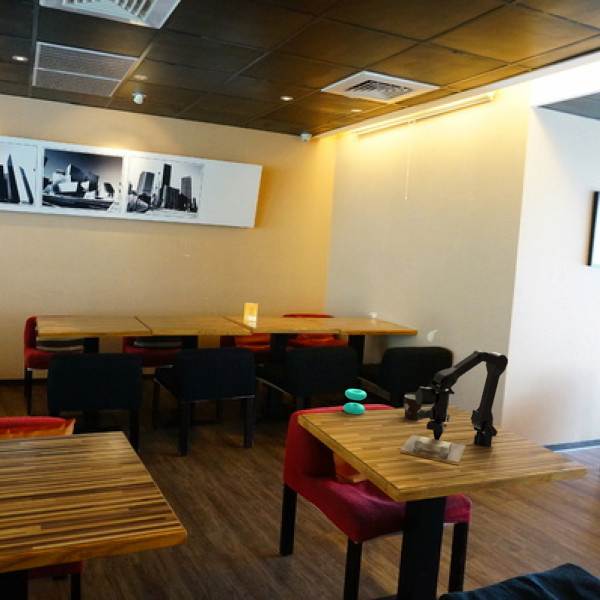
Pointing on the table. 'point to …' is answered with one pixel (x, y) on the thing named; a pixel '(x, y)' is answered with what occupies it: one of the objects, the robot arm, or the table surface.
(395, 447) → the table surface
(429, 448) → the maple plate
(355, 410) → the donuts
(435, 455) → the bench board
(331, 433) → the table surface
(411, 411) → the coffee mug
